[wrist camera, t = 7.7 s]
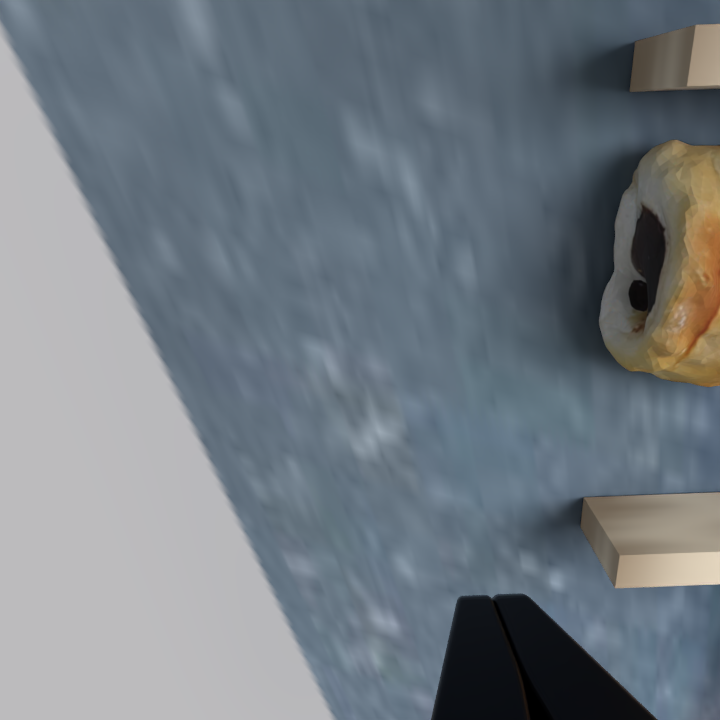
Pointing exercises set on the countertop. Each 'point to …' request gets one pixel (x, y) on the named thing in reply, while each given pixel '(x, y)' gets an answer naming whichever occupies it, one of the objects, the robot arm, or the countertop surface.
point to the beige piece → (666, 511)
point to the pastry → (668, 267)
